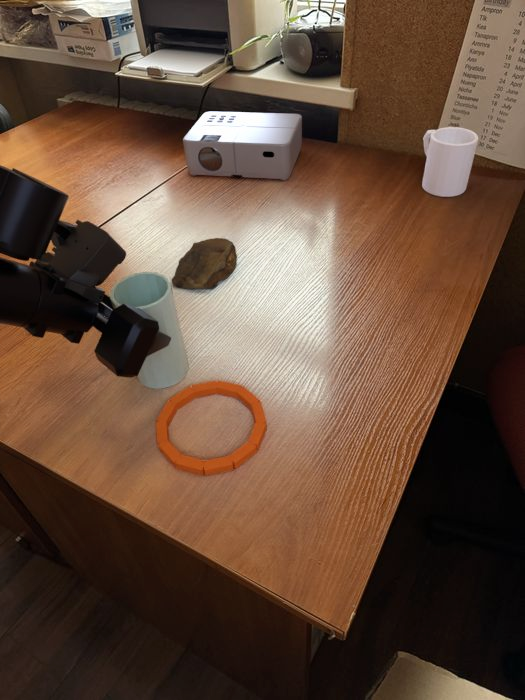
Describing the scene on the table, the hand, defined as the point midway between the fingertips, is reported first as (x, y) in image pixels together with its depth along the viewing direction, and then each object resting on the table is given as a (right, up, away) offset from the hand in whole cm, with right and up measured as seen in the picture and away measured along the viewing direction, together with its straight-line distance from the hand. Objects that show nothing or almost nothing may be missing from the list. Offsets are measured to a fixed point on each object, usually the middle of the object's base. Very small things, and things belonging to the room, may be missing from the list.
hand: (144, 324), depth 59 cm
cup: (+1, -6, +6) cm, 8 cm away
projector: (+10, +37, +50) cm, 63 cm away
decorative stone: (+5, +9, +21) cm, 24 cm away
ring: (+8, -12, -1) cm, 15 cm away
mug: (+48, +29, +39) cm, 68 cm away
